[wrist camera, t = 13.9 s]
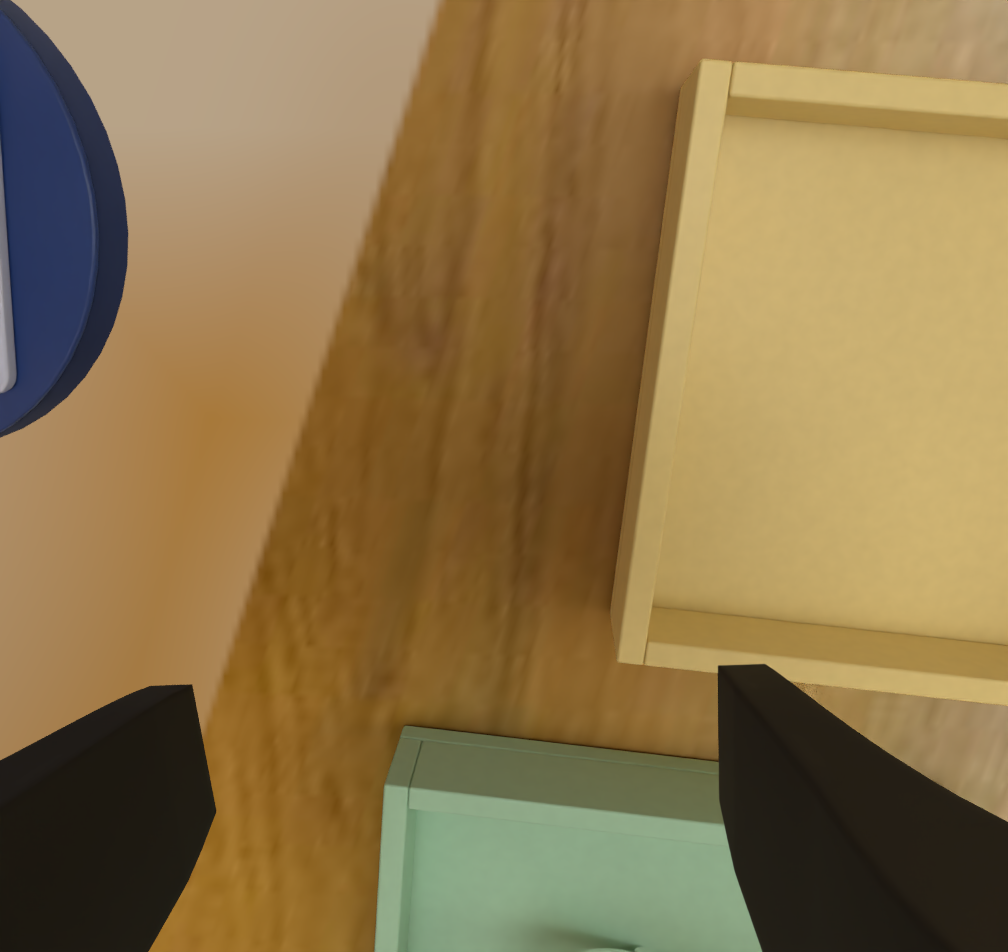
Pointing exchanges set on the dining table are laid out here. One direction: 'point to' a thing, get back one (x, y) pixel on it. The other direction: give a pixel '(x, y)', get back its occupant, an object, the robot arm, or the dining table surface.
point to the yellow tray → (826, 387)
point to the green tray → (553, 850)
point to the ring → (607, 951)
